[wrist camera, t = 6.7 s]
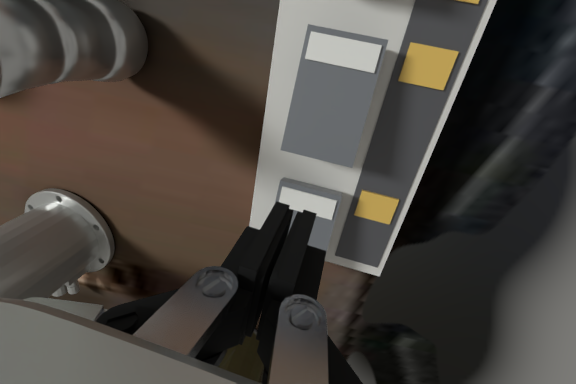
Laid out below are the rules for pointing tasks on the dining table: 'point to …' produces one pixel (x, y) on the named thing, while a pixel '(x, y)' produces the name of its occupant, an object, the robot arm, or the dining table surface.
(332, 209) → the switch
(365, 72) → the switch
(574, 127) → the dining table surface
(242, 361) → the canister
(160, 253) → the dining table surface
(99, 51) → the plastic bottle
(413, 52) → the switch unit
